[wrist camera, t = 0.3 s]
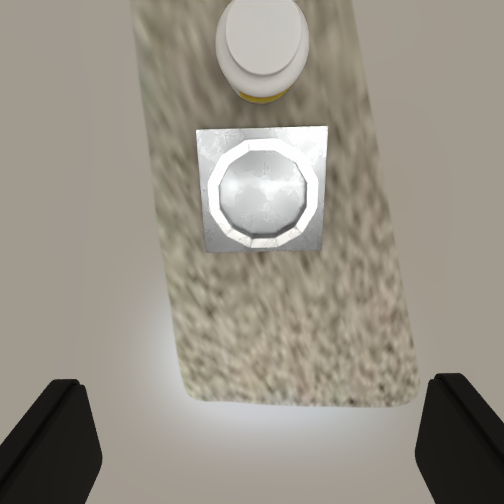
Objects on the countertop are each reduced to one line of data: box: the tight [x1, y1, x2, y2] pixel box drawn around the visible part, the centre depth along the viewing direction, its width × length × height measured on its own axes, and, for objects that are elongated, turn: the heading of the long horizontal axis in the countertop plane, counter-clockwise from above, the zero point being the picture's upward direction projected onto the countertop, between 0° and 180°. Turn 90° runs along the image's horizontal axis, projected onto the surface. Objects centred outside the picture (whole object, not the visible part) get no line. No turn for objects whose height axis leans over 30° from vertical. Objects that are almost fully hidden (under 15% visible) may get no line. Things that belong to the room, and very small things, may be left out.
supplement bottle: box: [215, 0, 310, 104], centre depth 26 cm, size 7×7×13 cm
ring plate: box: [196, 126, 328, 253], centre depth 35 cm, size 13×13×2 cm
